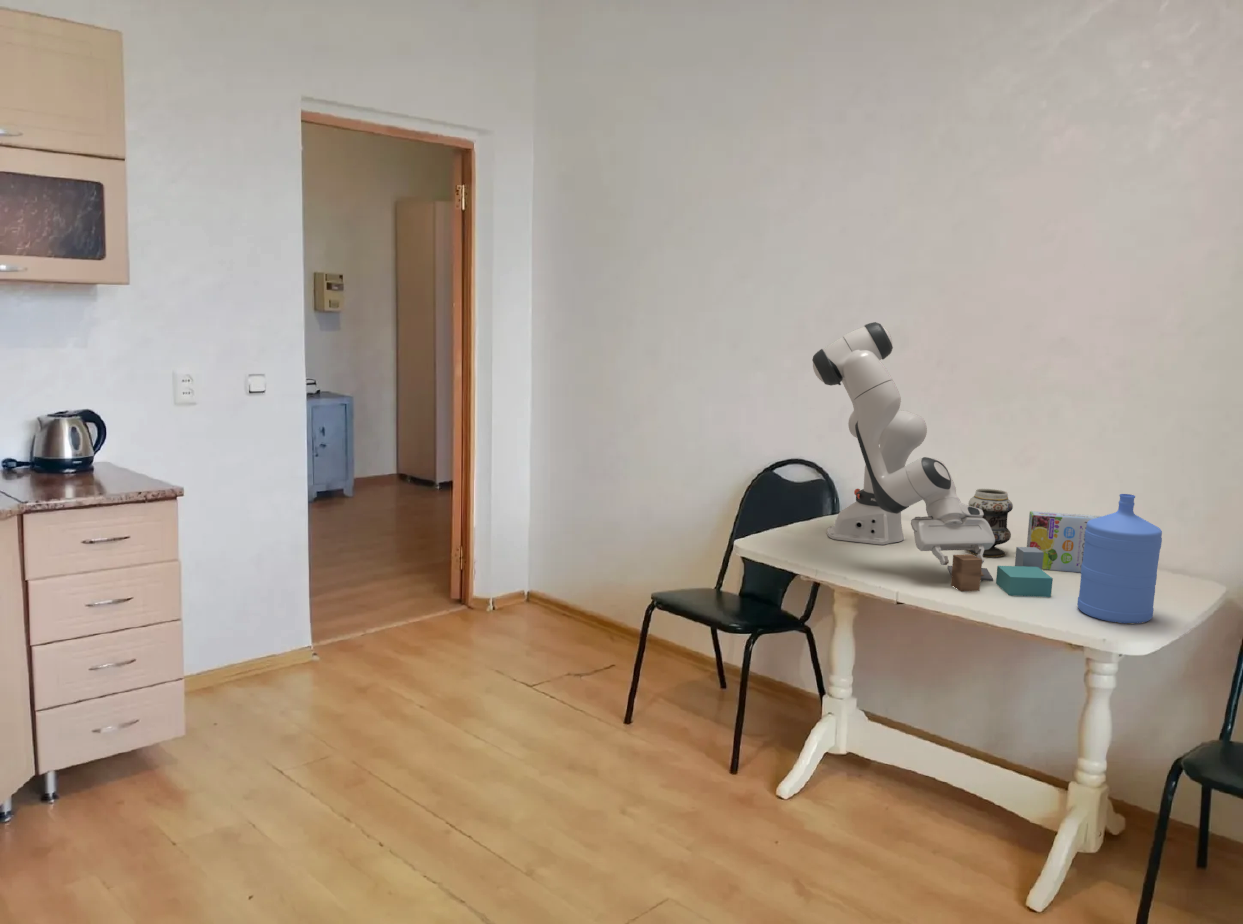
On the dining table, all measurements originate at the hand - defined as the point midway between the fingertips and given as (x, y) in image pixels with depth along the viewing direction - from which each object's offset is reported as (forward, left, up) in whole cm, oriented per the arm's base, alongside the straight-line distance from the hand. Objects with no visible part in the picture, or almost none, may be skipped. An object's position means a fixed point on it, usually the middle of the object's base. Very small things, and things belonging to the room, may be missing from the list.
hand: (962, 563), depth 240 cm
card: (+4, +12, -6) cm, 14 cm away
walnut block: (+1, -1, -6) cm, 6 cm away
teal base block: (+15, +1, -6) cm, 16 cm away
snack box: (+31, +24, -6) cm, 40 cm away
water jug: (+32, -13, -6) cm, 35 cm away
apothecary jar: (+12, +36, -6) cm, 39 cm away
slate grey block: (+18, +11, -6) cm, 22 cm away
